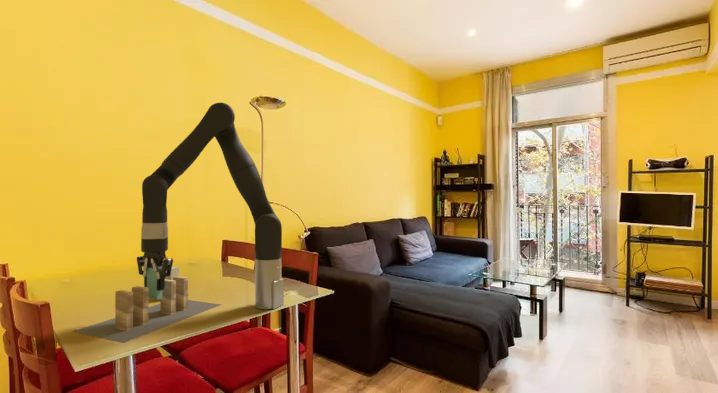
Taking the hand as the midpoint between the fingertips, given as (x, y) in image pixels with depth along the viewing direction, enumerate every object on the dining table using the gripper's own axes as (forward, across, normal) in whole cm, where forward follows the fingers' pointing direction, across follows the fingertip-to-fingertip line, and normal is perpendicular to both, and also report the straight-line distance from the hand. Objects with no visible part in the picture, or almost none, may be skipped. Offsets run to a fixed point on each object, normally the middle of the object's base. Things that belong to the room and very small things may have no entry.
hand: (154, 288), depth 113 cm
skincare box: (+10, -16, +19) cm, 27 cm away
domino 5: (+9, 0, +10) cm, 14 cm away
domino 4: (+9, 0, +5) cm, 11 cm away
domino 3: (+3, 0, 0) cm, 3 cm away
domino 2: (+9, 0, -5) cm, 11 cm away
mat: (+10, -1, +1) cm, 10 cm away
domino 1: (+9, 0, -10) cm, 14 cm away
